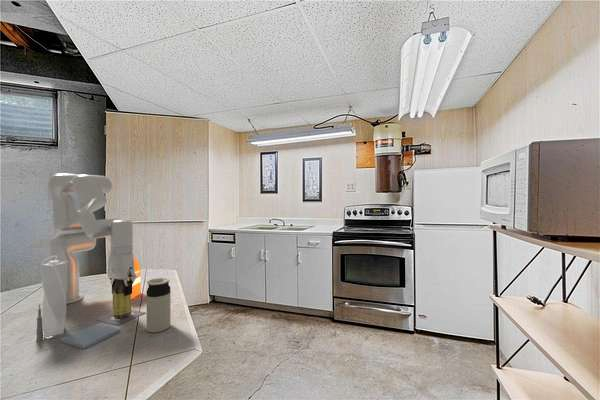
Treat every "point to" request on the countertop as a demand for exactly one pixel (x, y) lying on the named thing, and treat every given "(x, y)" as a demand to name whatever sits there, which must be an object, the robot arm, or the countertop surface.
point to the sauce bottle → (121, 300)
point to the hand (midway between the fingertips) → (122, 293)
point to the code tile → (119, 321)
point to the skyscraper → (52, 300)
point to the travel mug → (158, 305)
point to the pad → (90, 336)
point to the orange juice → (137, 282)
